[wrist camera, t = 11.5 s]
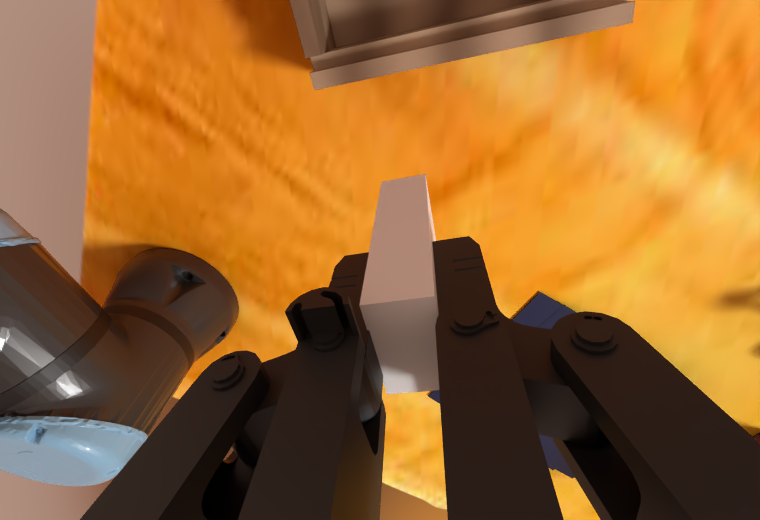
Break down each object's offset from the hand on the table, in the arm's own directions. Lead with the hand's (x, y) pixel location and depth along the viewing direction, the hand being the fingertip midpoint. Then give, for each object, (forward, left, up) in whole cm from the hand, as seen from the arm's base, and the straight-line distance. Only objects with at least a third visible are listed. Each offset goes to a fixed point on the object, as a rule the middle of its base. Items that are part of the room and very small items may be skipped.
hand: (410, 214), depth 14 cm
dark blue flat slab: (+14, -43, -26) cm, 52 cm away
